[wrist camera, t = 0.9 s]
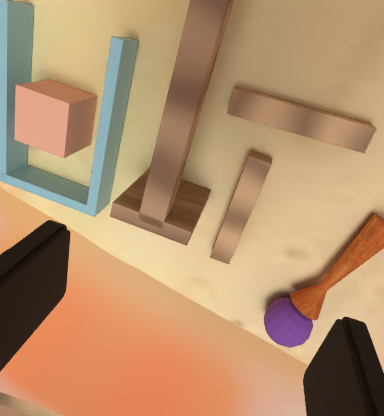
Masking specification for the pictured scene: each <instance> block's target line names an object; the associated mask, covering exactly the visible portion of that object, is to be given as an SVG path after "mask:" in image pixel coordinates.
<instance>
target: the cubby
mask: <svg viewBox="0 0 384 416" xmlns="http://www.w3.org/2000/svg"><path fill="white" fill-rule="evenodd" d="M33 20H34V6H33V5H30V4H27V3H24V2H18V1H13V0H0V181H2V182H4V183H7V184H10V185H12V186H15V187H18V188H20V189H23V190H25V191H28V192H31V193H33V194H36V195H38V196H41V197H44V198H46V199H49V200H52V201H54V202H57V203H59V204H62V205H65V206H67V207H70V208H72V209H75V210H78V211H80V212H83V213H86V214H88V215H91V216H93V217H95V216H96V215H97V214H98V213H99V212H100V211H101V210H103V209H104V208H105V207H106V206H107V205H108V204H109V200H110V195H111V190H112V184H113V179H114V173H115V168H116V162H117V157H118V152H119V146H120V141H121V135H122V130H123V124H124V119H125V114H126V108H127V103H128V97H129V92H130V86H131V81H132V76H133V70H134V65H135V59H136V54H137V49H138V43H139V41H137V40H134V39H131V38H126V37H113V36H112V37H111V44H110V51H109V58H108V64H107V71H106V78H105V85H104V92H103V98H102V105H101V112H100V119H99V126H98V133H97V139H96V146H95V153H94V160H93V167H92V173H91V180H90V187H89V188H88V187H85V186H83V185H80V184H77V183H75V182H72V181H69V180H67V179H64V178H61V177H59V176H56V175H53V174H51V173H48V172H45V171H43V170H40V169H37V168H35V167H32V166H29V165H27V162H28V145H27V144H24V143H22V142H19V141H16V140H15V93H16V84H24V83H31V67H32V44H33Z"/></svg>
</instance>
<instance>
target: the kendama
mask: <svg viewBox="0 0 384 416" xmlns="http://www.w3.org/2000/svg"><path fill="white" fill-rule="evenodd" d="M383 248H384V220H383V219H382V218H380V217H379V216H377V215H375V214H374V215H373V216H372V217H371V219H370V220H369V221H368V222H367V224H366V225H365V226H364V228H363V229H362V230H361V231H360V233H359V234H358V235H357V237H356V238H355V239H354V240H353V242H352V243H351V244H350V246H349V247H348V248H347V249H346V251H345V252H344V253H343V254H342V256H341V257H340V258H339V260H338V261H337V262H336V263H335V265H334V266H333V267H332V269H331V270H330V271H329V272H328V274H327V275H326V276H325V278H324V279H323V280H322V281H321V283H320V284H317V285H314V286H311V287H308V288H305V289H302V290H298V291H295V292H292V293H291V294H290V297H291V298H280V299H278V300H275V301H273V303H272V304H271V305H270V306H269V307H268V308H267V309H266V312H265V315H264V325H265V329H266V332H267V334H268V335H269V337H270V338H271V339H272V340H273V341H274V342H276V343H277V344H279V345H283V346H286V347H294V346H298V345H301V344H303V343H304V342H305V341H306V340H307V339H309V336H310V334H311V331H312V328H313V323H312V320H317V319H318V317H319V314H320V311H321V307H322V304H323V301H324V298H325V295H326V292H327V290H328V289H330V288H331V287H332V286H334V285H335V284H336V283H338V282H339V281H340V280H342V279H343V278H344V277H346V276H347V275H348V274H350V273H351V272H352V271H354V270H355V269H356V268H358V267H359V266H360V265H362V264H363V263H364V262H366V261H367V260H368V259H370V258H371V257H372V256H374V255H375V254H376V253H378V252H379V251H380V250H382V249H383Z"/></svg>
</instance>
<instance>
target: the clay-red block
mask: <svg viewBox="0 0 384 416" xmlns="http://www.w3.org/2000/svg"><path fill="white" fill-rule="evenodd" d="M97 97H98V96H95V95H92V94H90V93H87V92H84V91H81V90H78V89H75V88H73V87H70V86H67V85H64V84H61V83H58V82H56V81H53V80H46V81H38V82H31V83H24V84H16V93H15V140H16V141H19V142H22V143H24V144H27V145H30V146H32V147H35V148H38V149H41V150H43V151H46V152H49V153H51V154H54V155H57V156H59V157H62V158H65V157H67V156H69V155H71V154H73V153H75V152H77V151H79V150H81V149H83V148H85V147H87V146H89V145H91V140H92V133H93V125H94V118H95V111H96V104H97Z"/></svg>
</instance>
